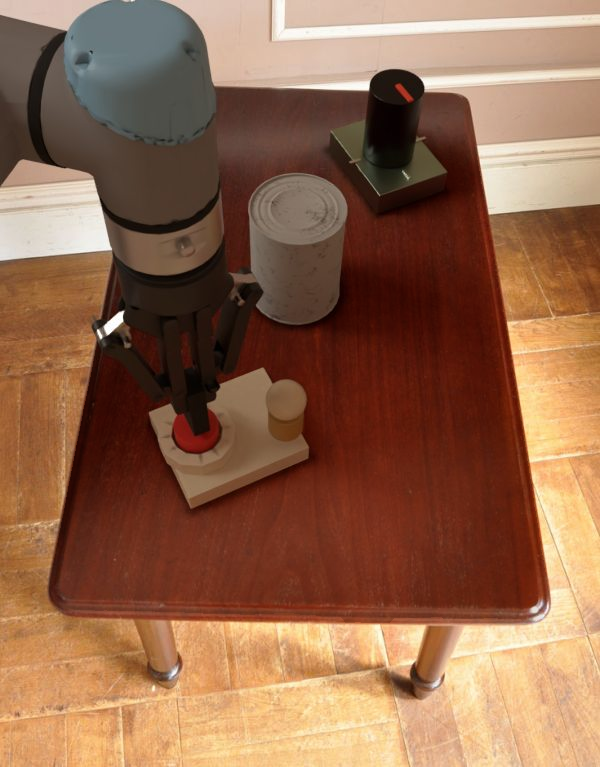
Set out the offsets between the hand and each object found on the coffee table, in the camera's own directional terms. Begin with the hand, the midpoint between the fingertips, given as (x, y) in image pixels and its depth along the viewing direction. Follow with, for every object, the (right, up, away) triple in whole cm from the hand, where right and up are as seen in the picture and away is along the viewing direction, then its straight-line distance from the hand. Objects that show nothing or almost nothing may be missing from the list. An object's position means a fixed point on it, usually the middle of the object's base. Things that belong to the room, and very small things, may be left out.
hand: (196, 421), depth 76 cm
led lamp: (+8, -1, +2) cm, 8 cm away
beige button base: (+2, -2, +6) cm, 7 cm away
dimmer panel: (+19, +29, +27) cm, 44 cm away
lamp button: (0, -1, +2) cm, 2 cm away
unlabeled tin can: (+9, +13, +16) cm, 23 cm away
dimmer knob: (+19, +31, +24) cm, 44 cm away
